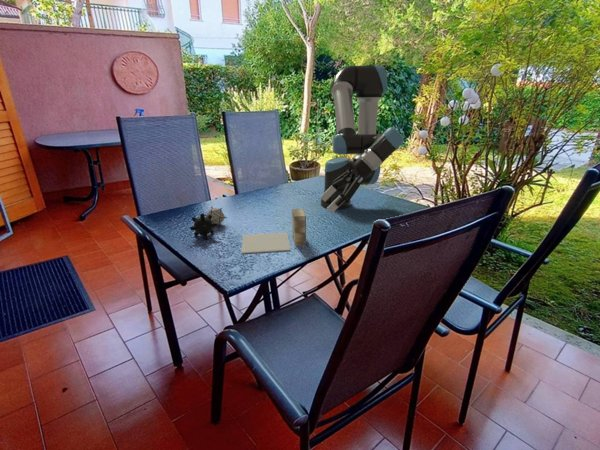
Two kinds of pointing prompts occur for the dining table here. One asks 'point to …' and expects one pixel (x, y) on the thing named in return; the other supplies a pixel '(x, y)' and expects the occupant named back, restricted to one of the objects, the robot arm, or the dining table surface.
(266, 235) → the mat
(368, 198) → the dining table surface
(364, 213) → the dining table surface
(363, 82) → the robot arm
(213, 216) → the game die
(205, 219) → the toy ball
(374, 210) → the dining table surface
